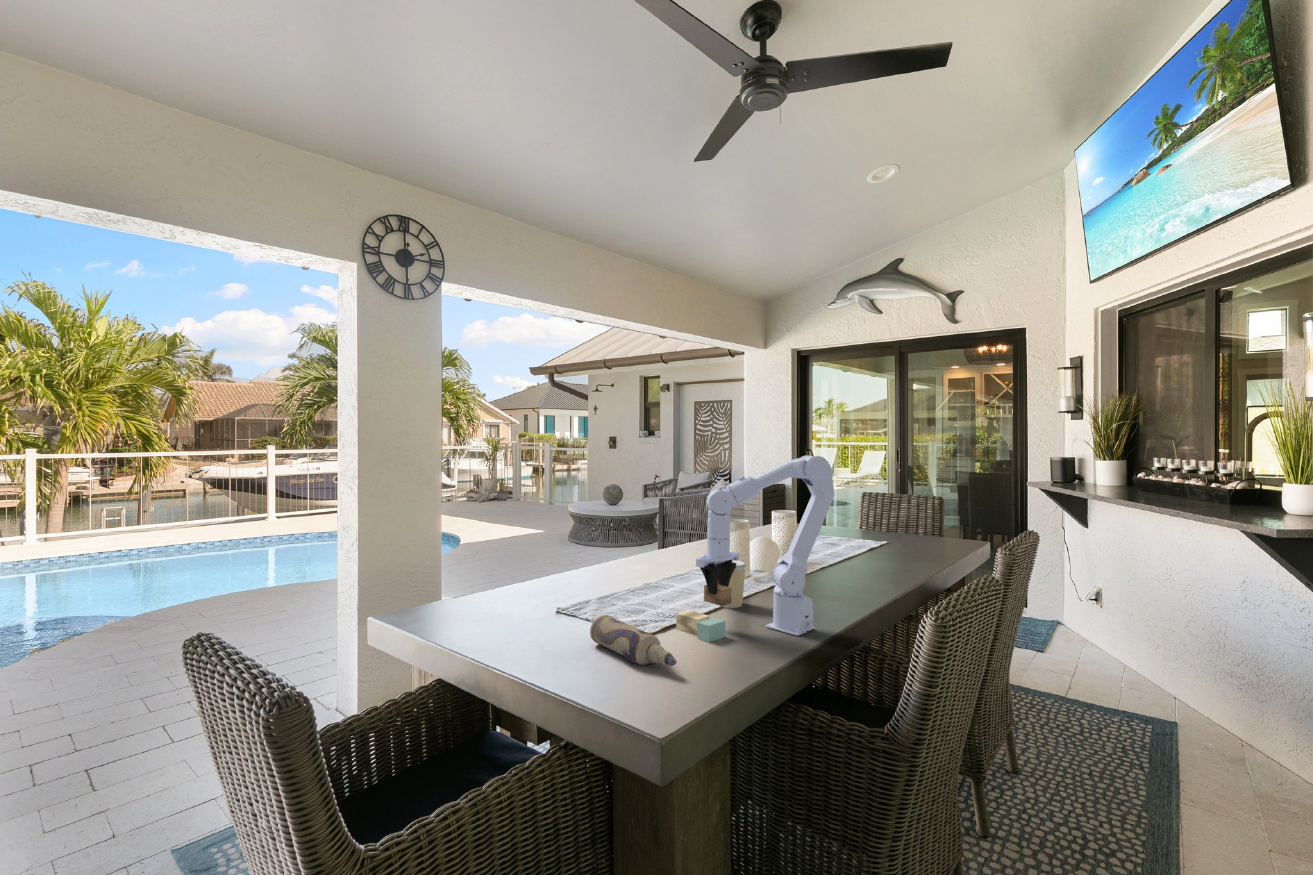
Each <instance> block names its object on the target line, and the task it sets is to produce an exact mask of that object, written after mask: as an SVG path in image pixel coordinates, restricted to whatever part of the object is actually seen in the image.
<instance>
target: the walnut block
mask: <svg viewBox="0 0 1313 875" xmlns="http://www.w3.org/2000/svg"><path fill="white" fill-rule="evenodd" d="M703 586H704V588H703V602H705V603H709V604H714V605H716V606H717V605H720V606H725V605H728V604H731V592H732V588H731V587H727V586H723V585H719V584H718V588H717V594H710V593H709V592H708V588H707V584H704V585H703ZM720 606H719V607H720Z"/></svg>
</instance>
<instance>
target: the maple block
mask: <svg viewBox="0 0 1313 875" xmlns="http://www.w3.org/2000/svg"><path fill="white" fill-rule="evenodd" d="M708 619H710V615H709V614H708V615H707V614H704V613H699V612H698V611H694V610H693V611H692V610H691V609H690V610H689V609H687V610H683V611H681V612H678V613H676V616H675V621H676V622H675V623H676V624H675V626H676V627H675V629H676V630H678V631H681V632H682V631H683V632H685V633H688V634H691V635H695V636H698V622H701V621H704V620H708Z"/></svg>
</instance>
